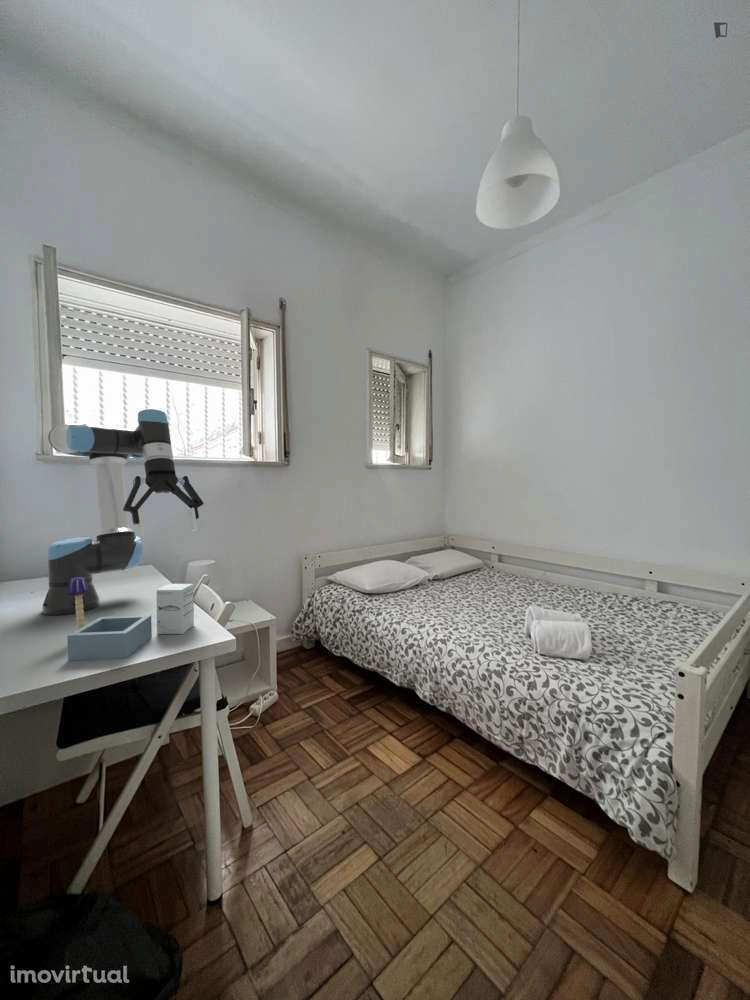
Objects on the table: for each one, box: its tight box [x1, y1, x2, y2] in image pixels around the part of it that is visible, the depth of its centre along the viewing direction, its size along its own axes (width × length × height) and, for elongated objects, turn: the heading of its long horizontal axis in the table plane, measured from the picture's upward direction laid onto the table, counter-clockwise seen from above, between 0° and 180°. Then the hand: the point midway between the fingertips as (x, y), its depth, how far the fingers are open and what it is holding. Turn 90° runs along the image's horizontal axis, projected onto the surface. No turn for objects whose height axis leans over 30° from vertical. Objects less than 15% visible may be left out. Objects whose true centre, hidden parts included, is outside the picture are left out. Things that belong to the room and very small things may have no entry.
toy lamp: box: [67, 577, 89, 630], centre depth 104 cm, size 5×5×17 cm
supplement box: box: [156, 583, 195, 635], centre depth 111 cm, size 7×7×13 cm
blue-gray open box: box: [66, 614, 153, 662], centre depth 99 cm, size 13×13×6 cm
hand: (169, 533), depth 108 cm, fingers open, 13 cm apart
